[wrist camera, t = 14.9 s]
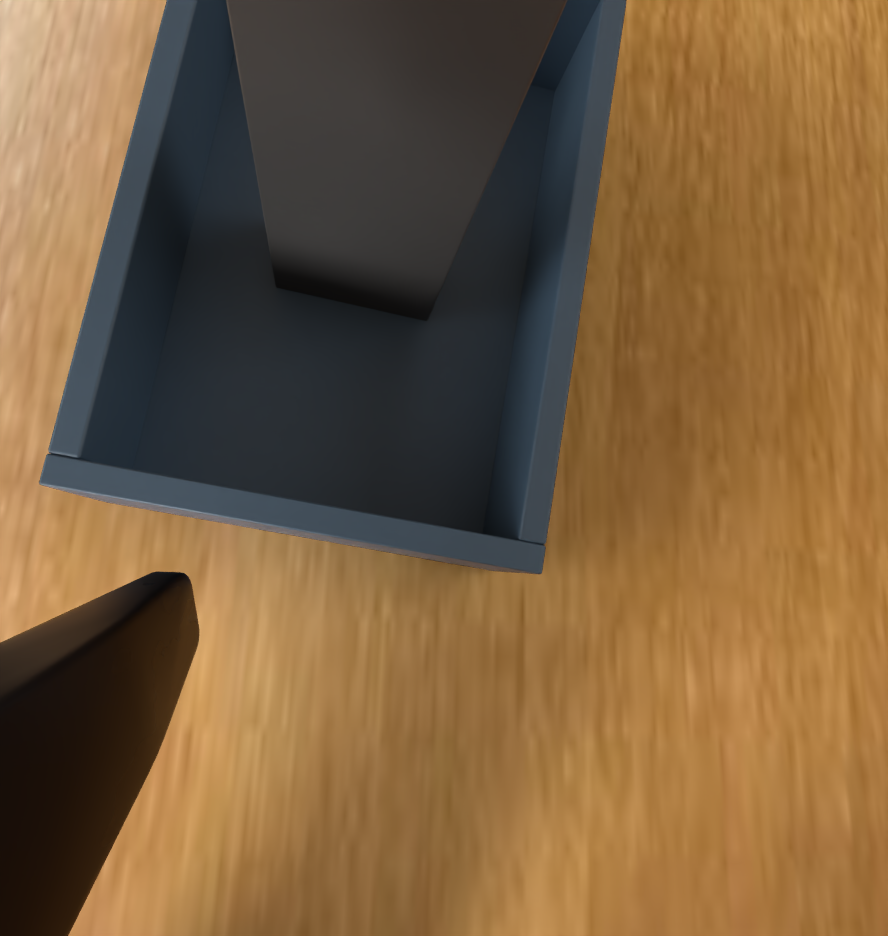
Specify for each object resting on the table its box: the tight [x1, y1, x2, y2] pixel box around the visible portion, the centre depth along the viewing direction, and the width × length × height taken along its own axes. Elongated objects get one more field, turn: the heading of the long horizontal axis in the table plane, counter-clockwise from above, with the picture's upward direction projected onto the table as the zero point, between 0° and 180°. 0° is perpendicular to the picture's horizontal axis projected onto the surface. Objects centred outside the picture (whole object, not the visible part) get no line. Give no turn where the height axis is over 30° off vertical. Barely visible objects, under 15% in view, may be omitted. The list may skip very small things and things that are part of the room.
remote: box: [226, 0, 567, 321], centre depth 15 cm, size 2×5×13 cm, turn 81°
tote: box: [39, 0, 626, 574], centre depth 20 cm, size 16×11×5 cm
